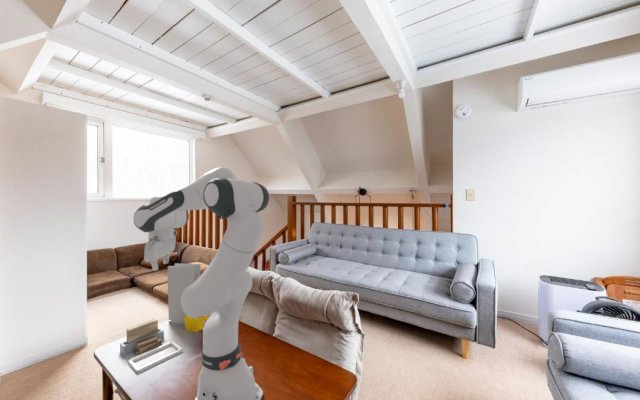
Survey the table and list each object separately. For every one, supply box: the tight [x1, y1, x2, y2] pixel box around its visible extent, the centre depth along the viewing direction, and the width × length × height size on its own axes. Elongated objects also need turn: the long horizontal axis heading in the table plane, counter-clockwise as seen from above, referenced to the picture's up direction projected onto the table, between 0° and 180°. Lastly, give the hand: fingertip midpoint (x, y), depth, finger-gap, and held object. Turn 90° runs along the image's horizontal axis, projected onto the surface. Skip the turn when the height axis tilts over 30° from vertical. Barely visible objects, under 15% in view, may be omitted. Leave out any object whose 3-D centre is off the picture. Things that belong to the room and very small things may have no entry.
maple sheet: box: [126, 318, 159, 344], centre depth 109 cm, size 2×11×9 cm, turn 143°
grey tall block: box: [167, 263, 201, 325], centre depth 130 cm, size 14×6×30 cm, turn 84°
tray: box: [127, 340, 184, 374], centre depth 101 cm, size 10×16×2 cm, turn 143°
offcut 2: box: [136, 337, 162, 352], centre depth 106 cm, size 4×8×1 cm, turn 147°
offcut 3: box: [133, 343, 162, 356], centre depth 106 cm, size 5×9×1 cm, turn 143°
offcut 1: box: [136, 336, 158, 348], centre depth 106 cm, size 4×7×1 cm, turn 137°
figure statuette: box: [184, 315, 209, 333], centre depth 122 cm, size 18×8×22 cm, turn 71°
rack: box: [119, 327, 171, 361], centre depth 107 cm, size 12×15×4 cm
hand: (160, 266), depth 107 cm, fingers open, 8 cm apart
